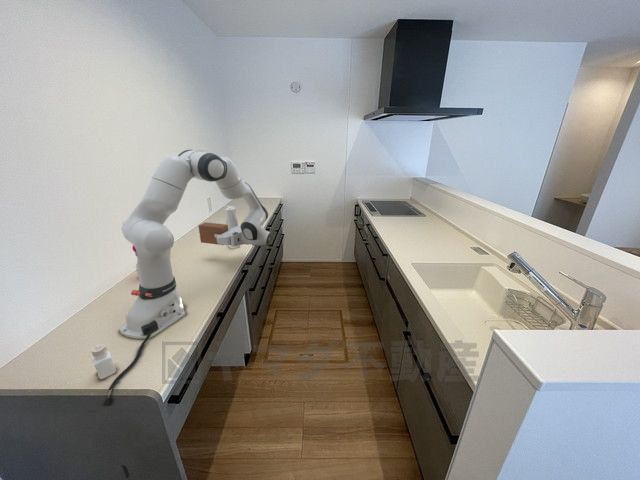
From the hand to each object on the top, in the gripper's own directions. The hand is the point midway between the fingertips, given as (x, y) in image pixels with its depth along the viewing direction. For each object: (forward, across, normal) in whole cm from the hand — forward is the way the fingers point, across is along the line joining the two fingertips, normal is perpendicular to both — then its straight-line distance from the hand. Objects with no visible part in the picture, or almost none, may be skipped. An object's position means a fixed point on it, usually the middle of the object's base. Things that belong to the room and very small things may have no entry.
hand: (219, 233), depth 144 cm
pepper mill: (+26, +26, +18) cm, 41 cm away
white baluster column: (+5, -21, +17) cm, 28 cm away
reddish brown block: (+3, 0, +6) cm, 6 cm away
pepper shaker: (-10, +77, +18) cm, 79 cm away
